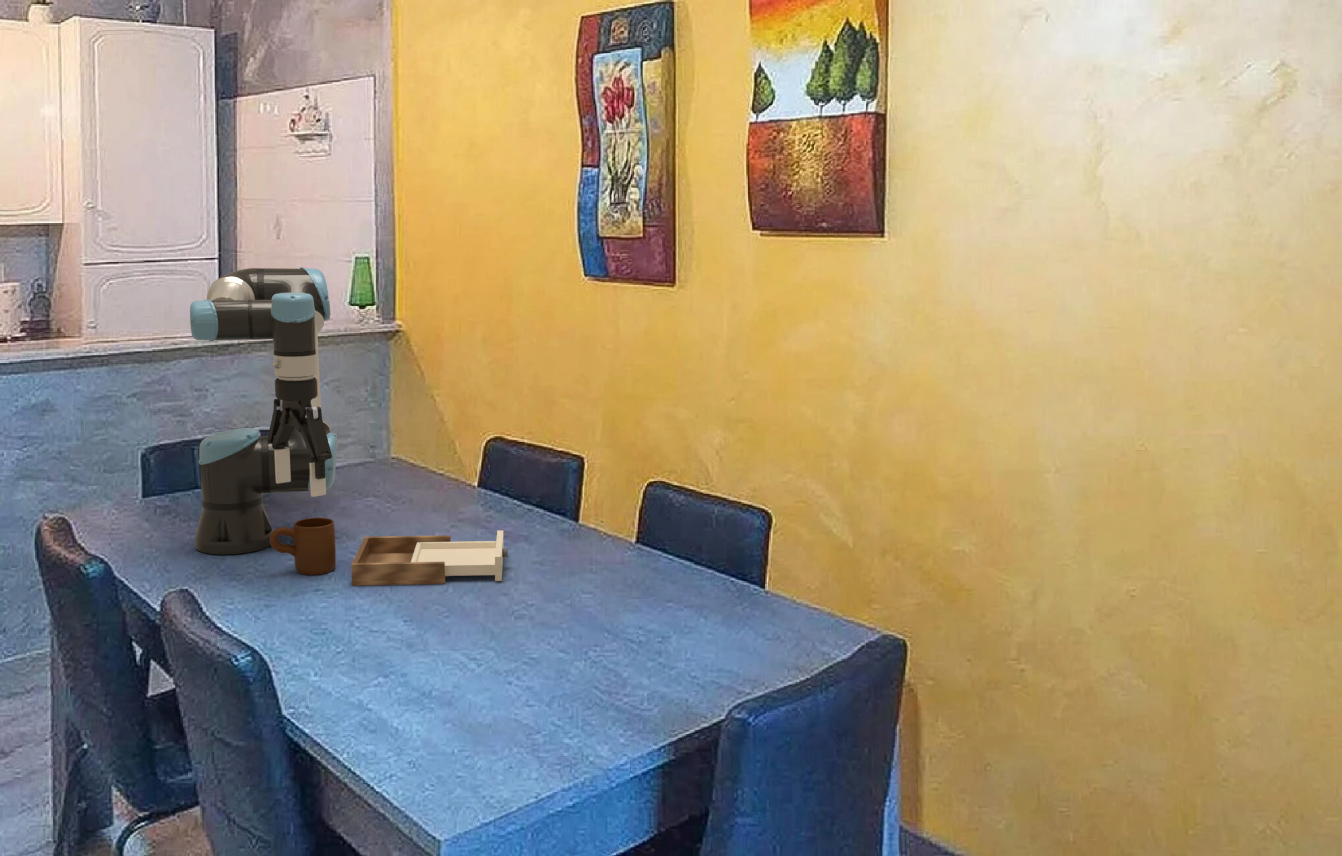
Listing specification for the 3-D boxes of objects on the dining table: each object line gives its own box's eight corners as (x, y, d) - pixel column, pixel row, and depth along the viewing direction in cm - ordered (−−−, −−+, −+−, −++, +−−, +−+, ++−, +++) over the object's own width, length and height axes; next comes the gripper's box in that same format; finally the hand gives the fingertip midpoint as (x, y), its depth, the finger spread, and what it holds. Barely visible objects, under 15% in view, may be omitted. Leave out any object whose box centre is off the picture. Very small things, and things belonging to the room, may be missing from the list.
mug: (275, 581, 223) (272, 532, 222) (267, 569, 230) (265, 522, 228) (340, 572, 229) (338, 525, 227) (331, 561, 235) (329, 515, 234)
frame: (351, 585, 222) (351, 564, 221) (365, 555, 239) (364, 536, 239) (444, 583, 224) (444, 563, 223) (450, 554, 241) (450, 535, 241)
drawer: (409, 582, 223) (408, 558, 222) (417, 554, 240) (417, 531, 239) (506, 580, 225) (506, 556, 224) (508, 552, 242) (508, 530, 241)
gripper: (245, 371, 228) (251, 479, 232) (310, 387, 211) (315, 504, 215) (282, 367, 233) (287, 474, 237) (348, 383, 216) (352, 497, 220)
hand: (300, 488), depth 226 cm, fingers open, 13 cm apart
